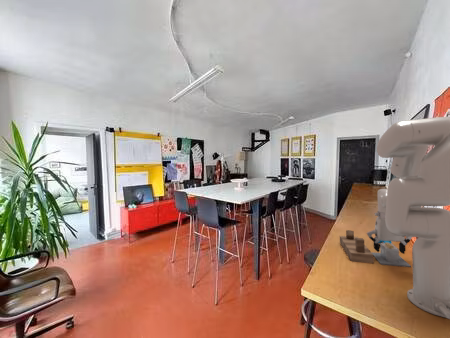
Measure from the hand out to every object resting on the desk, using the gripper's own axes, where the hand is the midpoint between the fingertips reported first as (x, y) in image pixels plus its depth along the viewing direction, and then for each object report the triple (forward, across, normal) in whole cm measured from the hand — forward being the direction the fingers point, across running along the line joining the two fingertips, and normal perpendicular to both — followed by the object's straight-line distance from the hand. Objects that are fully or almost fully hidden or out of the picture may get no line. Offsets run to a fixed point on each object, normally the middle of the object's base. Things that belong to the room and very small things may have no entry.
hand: (389, 251), depth 93 cm
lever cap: (+3, 0, 0) cm, 3 cm away
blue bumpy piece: (+4, +4, +17) cm, 18 cm away
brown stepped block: (+4, -12, +6) cm, 14 cm away
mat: (+4, 0, 0) cm, 4 cm away
